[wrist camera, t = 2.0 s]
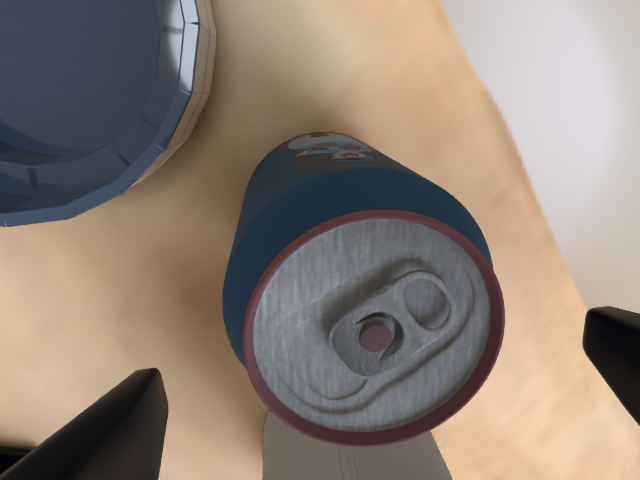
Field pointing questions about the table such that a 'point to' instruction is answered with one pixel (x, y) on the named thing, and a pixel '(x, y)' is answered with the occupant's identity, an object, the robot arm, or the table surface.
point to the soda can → (359, 294)
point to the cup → (347, 458)
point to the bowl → (95, 98)
